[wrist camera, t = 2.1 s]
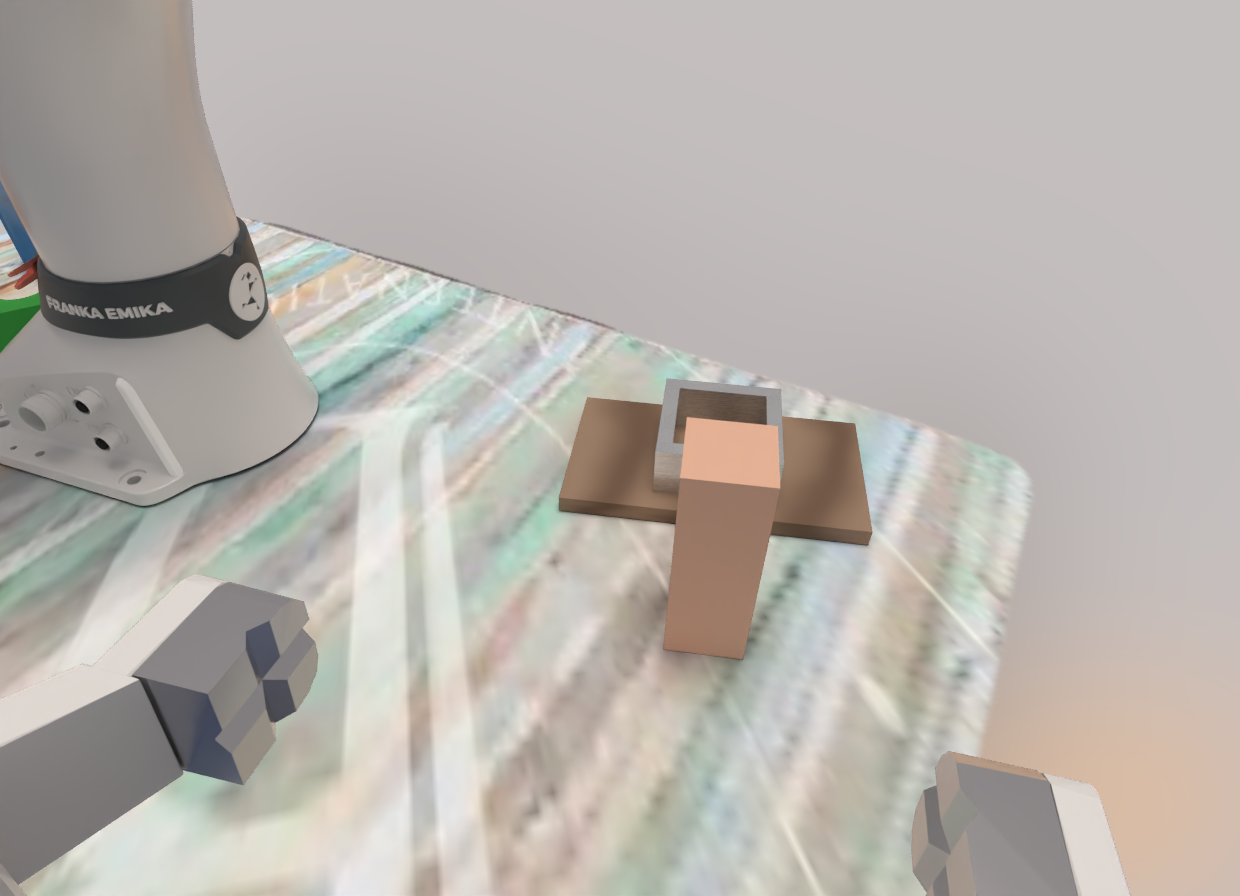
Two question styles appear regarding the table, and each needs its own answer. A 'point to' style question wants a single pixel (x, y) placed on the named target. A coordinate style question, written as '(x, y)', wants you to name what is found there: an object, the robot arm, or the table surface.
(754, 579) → the tall rectangular block
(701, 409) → the square metal frame
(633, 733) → the table surface
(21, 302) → the pipe clamp
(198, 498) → the table surface
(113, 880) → the table surface
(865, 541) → the holder base
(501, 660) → the table surface
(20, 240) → the perfume bottle
